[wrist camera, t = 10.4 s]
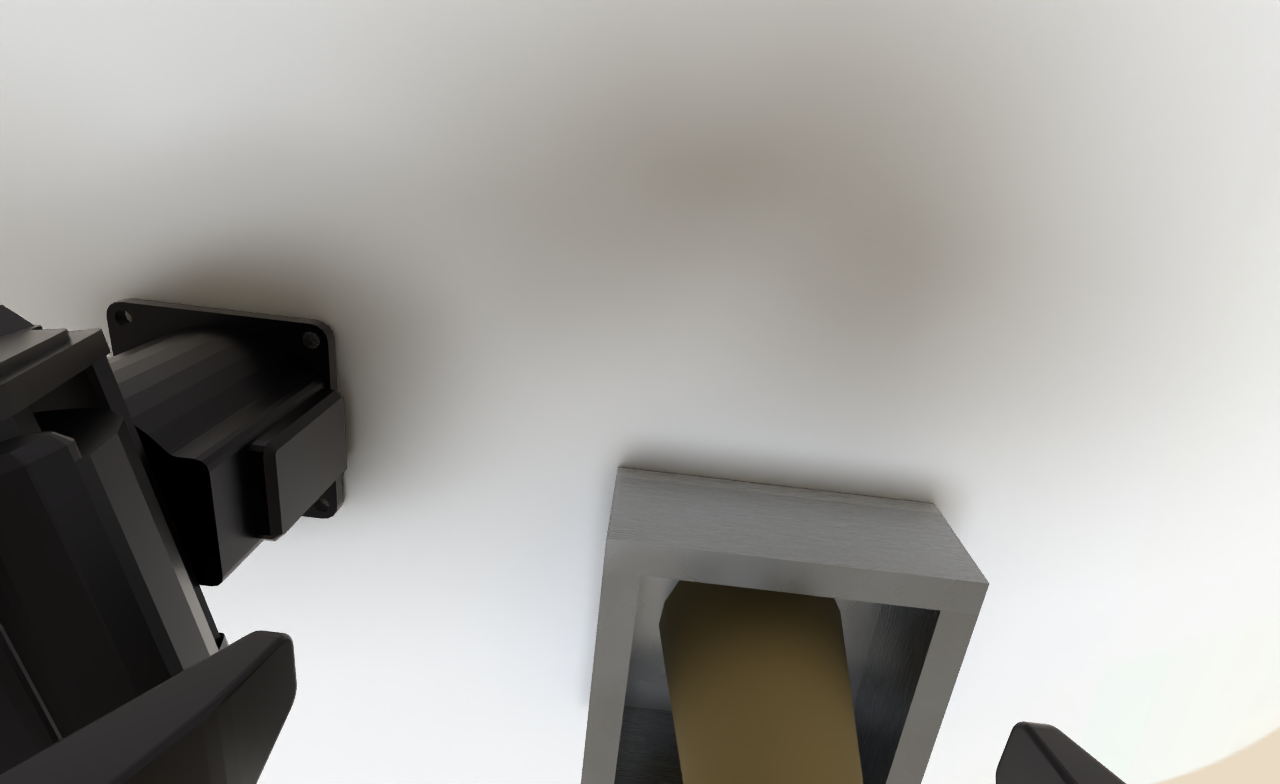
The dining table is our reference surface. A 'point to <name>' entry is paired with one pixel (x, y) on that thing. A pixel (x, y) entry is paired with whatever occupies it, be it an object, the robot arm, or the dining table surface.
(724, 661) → the cork
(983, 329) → the dining table surface
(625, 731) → the square metal tray
